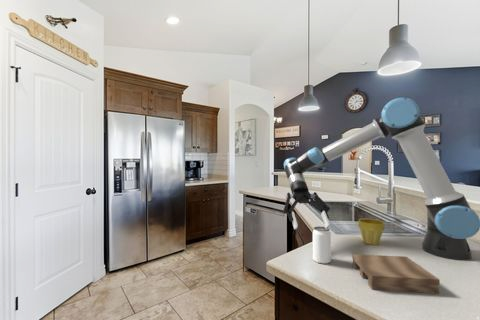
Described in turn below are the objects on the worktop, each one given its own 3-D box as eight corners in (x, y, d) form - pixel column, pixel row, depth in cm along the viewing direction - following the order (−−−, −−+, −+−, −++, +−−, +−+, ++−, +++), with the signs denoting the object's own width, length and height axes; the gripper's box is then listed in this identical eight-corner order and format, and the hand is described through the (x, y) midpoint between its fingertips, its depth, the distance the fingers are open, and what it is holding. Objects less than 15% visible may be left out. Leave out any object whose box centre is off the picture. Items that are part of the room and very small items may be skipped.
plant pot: (377, 238, 113) (377, 218, 113) (389, 246, 103) (389, 224, 103) (355, 238, 114) (355, 218, 114) (364, 246, 104) (364, 223, 104)
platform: (406, 268, 82) (406, 256, 82) (439, 293, 67) (439, 279, 67) (352, 265, 85) (352, 254, 85) (372, 289, 69) (372, 275, 69)
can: (319, 265, 85) (319, 231, 85) (309, 258, 91) (309, 226, 91) (334, 263, 86) (334, 230, 86) (323, 256, 93) (323, 225, 93)
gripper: (320, 190, 114) (337, 230, 99) (270, 190, 111) (280, 232, 96) (326, 180, 109) (344, 221, 94) (273, 180, 105) (284, 223, 91)
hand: (312, 227), depth 95 cm, fingers open, 13 cm apart
